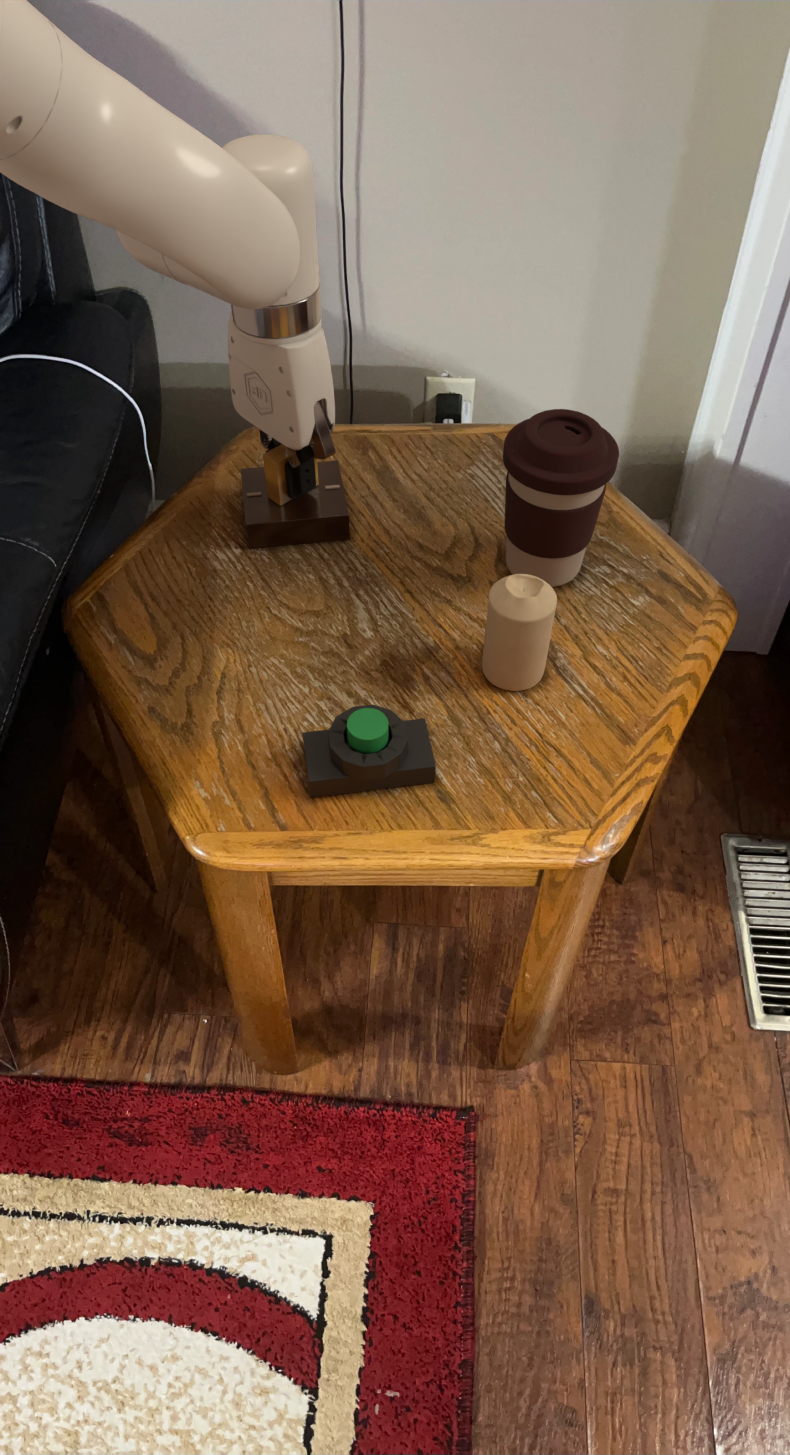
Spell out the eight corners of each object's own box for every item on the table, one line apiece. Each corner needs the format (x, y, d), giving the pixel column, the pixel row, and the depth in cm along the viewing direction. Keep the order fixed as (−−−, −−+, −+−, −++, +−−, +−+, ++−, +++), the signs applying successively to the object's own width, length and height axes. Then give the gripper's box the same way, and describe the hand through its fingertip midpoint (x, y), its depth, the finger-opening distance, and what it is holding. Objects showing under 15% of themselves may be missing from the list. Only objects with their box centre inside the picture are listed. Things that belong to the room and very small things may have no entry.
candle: (544, 648, 88) (559, 563, 80) (544, 694, 84) (559, 609, 76) (482, 644, 88) (491, 558, 80) (480, 689, 84) (489, 604, 77)
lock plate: (249, 548, 96) (245, 523, 94) (243, 492, 102) (240, 467, 99) (350, 539, 97) (349, 513, 94) (339, 484, 103) (338, 458, 100)
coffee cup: (509, 607, 91) (527, 472, 79) (478, 539, 97) (491, 405, 85) (609, 590, 92) (641, 455, 81) (573, 524, 98) (597, 391, 87)
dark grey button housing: (310, 803, 77) (307, 773, 74) (303, 743, 80) (300, 712, 77) (436, 788, 78) (438, 757, 75) (423, 729, 81) (424, 698, 78)
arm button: (350, 756, 75) (349, 742, 74) (345, 724, 77) (344, 710, 76) (391, 751, 75) (391, 737, 74) (385, 719, 77) (385, 705, 76)
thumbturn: (280, 506, 95) (275, 460, 91) (267, 496, 96) (262, 451, 92) (319, 484, 98) (316, 439, 93) (306, 475, 98) (302, 430, 94)
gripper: (183, 287, 84) (213, 466, 98) (303, 358, 77) (317, 541, 91) (252, 259, 88) (271, 436, 102) (373, 325, 80) (375, 506, 94)
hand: (292, 484), depth 96 cm, fingers closed on thumbturn, 2 cm apart
